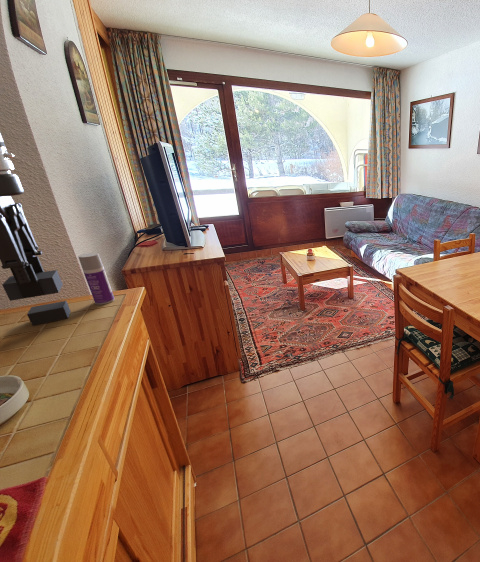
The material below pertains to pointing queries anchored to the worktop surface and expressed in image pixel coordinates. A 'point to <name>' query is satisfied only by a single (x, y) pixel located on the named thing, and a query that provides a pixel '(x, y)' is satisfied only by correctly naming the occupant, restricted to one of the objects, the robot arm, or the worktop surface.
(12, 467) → the worktop surface
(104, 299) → the container
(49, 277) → the dark grey block
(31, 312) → the black pad
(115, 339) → the worktop surface
